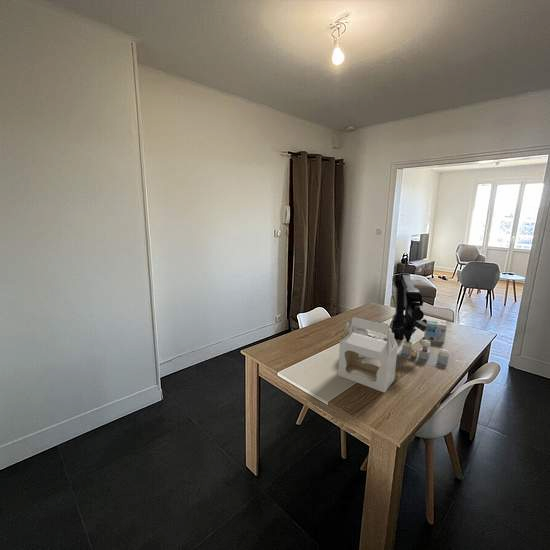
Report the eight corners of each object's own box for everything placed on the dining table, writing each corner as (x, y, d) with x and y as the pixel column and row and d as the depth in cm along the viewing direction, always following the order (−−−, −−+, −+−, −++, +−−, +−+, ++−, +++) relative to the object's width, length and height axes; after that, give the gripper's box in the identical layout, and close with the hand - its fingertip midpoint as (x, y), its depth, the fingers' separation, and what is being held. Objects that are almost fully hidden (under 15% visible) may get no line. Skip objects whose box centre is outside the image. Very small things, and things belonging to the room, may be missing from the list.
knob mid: (419, 351, 153) (420, 341, 152) (421, 348, 156) (422, 338, 155) (428, 354, 150) (429, 343, 149) (430, 350, 153) (431, 340, 152)
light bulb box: (424, 339, 178) (426, 323, 176) (423, 335, 184) (425, 319, 182) (444, 342, 174) (447, 325, 172) (443, 338, 180) (445, 321, 178)
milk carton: (366, 353, 161) (369, 320, 157) (366, 358, 154) (368, 324, 150) (353, 351, 163) (355, 318, 159) (352, 356, 156) (354, 322, 152)
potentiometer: (409, 358, 153) (410, 350, 152) (411, 356, 155) (411, 348, 154) (415, 359, 151) (416, 352, 150) (417, 357, 153) (418, 350, 153)
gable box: (395, 380, 135) (400, 322, 129) (385, 393, 124) (391, 331, 119) (349, 364, 148) (352, 311, 143) (337, 375, 138) (340, 318, 132)
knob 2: (436, 361, 148) (438, 351, 147) (438, 358, 152) (439, 348, 150) (446, 364, 146) (448, 353, 144) (448, 361, 149) (449, 350, 148)
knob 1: (401, 352, 158) (402, 342, 157) (403, 349, 162) (404, 339, 161) (410, 354, 156) (411, 344, 155) (412, 351, 159) (413, 341, 158)
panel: (396, 357, 156) (397, 348, 155) (402, 348, 166) (403, 340, 165) (448, 371, 142) (449, 362, 141) (451, 361, 152) (453, 352, 151)
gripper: (423, 322, 142) (420, 352, 145) (431, 312, 157) (428, 340, 160) (399, 317, 149) (396, 346, 152) (409, 308, 163) (406, 334, 167)
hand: (407, 341), depth 158 cm, fingers closed
